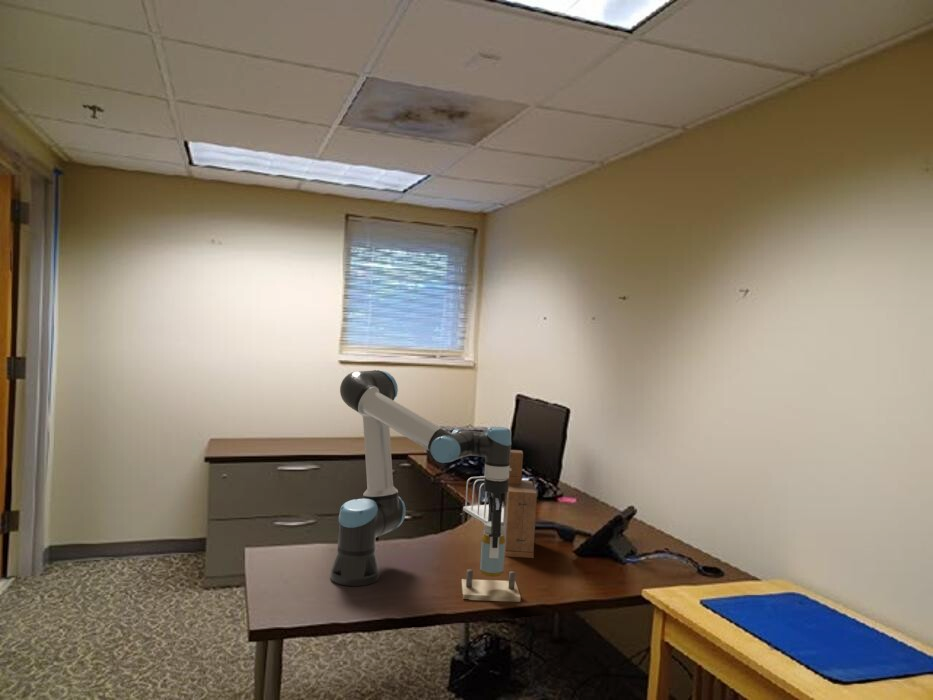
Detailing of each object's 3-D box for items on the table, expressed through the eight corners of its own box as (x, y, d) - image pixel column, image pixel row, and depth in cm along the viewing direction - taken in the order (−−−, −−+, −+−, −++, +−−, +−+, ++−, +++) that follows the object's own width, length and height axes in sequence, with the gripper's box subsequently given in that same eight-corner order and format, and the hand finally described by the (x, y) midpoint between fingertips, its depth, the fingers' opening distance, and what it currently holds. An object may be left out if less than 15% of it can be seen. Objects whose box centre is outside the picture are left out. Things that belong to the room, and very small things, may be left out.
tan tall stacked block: (491, 538, 246) (497, 448, 245) (528, 540, 246) (533, 450, 245) (493, 555, 227) (499, 458, 226) (533, 557, 227) (539, 460, 226)
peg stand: (463, 599, 187) (464, 577, 187) (461, 583, 199) (462, 563, 199) (520, 601, 188) (521, 580, 188) (515, 585, 200) (516, 565, 200)
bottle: (501, 569, 197) (504, 521, 197) (504, 577, 190) (506, 527, 190) (479, 568, 197) (482, 520, 196) (480, 576, 190) (483, 526, 189)
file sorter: (462, 510, 283) (464, 476, 283) (496, 508, 291) (498, 474, 291) (489, 527, 261) (492, 489, 260) (525, 524, 269) (528, 487, 268)
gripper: (513, 486, 183) (508, 565, 183) (505, 471, 203) (501, 543, 203) (487, 485, 183) (482, 564, 183) (482, 470, 203) (478, 542, 203)
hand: (492, 553), depth 193 cm, fingers closed on bottle, 7 cm apart
